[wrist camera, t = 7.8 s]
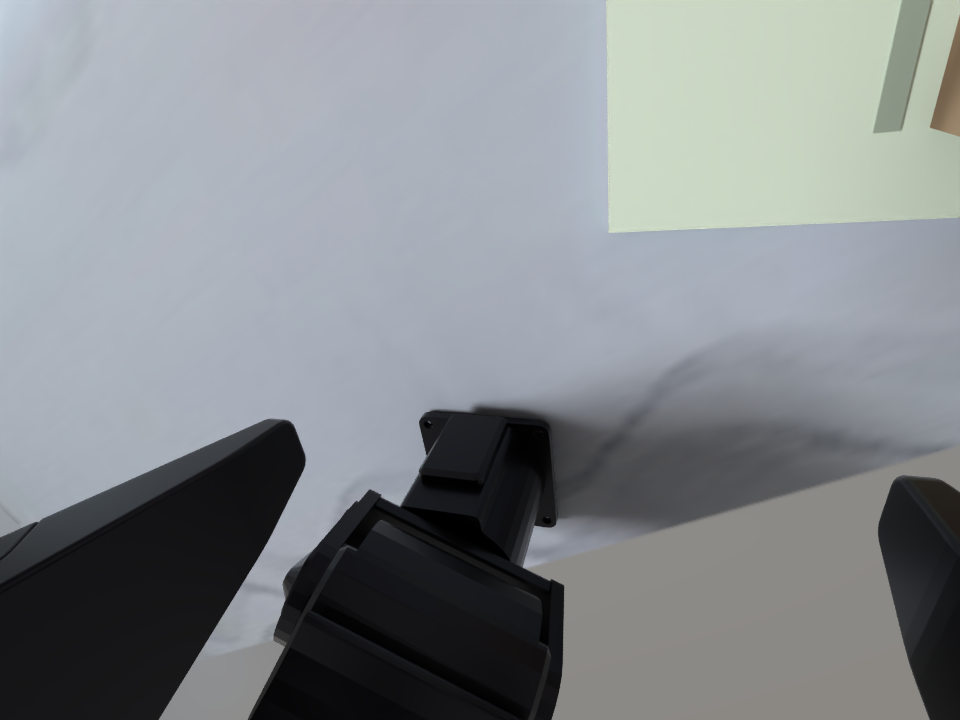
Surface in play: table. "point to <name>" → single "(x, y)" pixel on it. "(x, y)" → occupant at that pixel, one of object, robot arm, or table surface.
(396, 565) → the robot arm
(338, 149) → the table surface
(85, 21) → the table surface
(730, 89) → the cream mat
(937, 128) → the base block
